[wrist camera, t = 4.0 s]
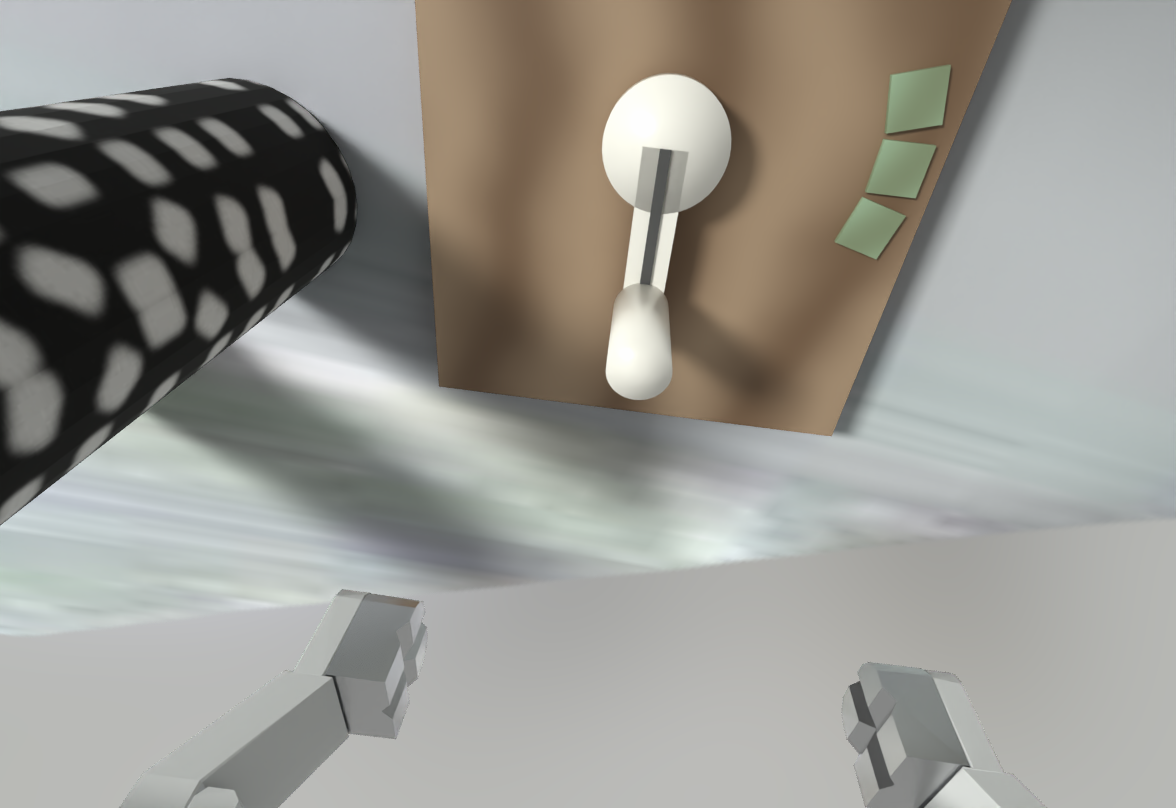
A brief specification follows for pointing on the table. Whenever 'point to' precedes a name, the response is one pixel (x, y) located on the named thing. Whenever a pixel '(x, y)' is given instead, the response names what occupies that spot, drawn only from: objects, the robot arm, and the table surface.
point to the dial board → (706, 230)
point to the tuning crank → (657, 211)
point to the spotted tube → (146, 253)
